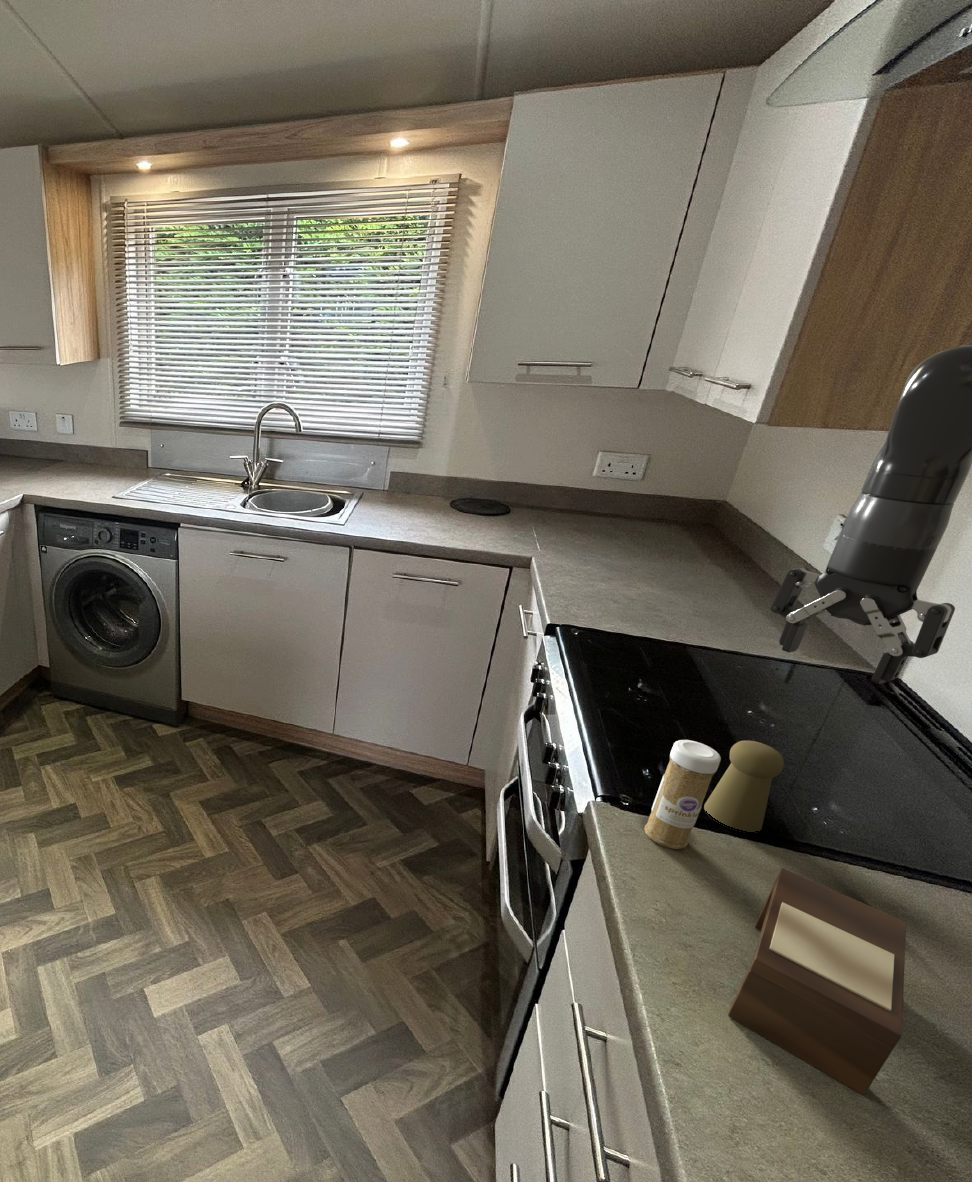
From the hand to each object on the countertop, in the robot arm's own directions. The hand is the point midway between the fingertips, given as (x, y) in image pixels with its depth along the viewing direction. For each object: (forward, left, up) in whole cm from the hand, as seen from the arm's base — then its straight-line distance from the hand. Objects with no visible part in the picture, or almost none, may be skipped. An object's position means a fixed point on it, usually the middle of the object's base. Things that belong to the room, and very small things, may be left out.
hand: (831, 665), depth 76 cm
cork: (+5, +1, -23) cm, 23 cm away
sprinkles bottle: (+16, +7, -23) cm, 29 cm away
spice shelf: (+14, +28, -23) cm, 39 cm away
